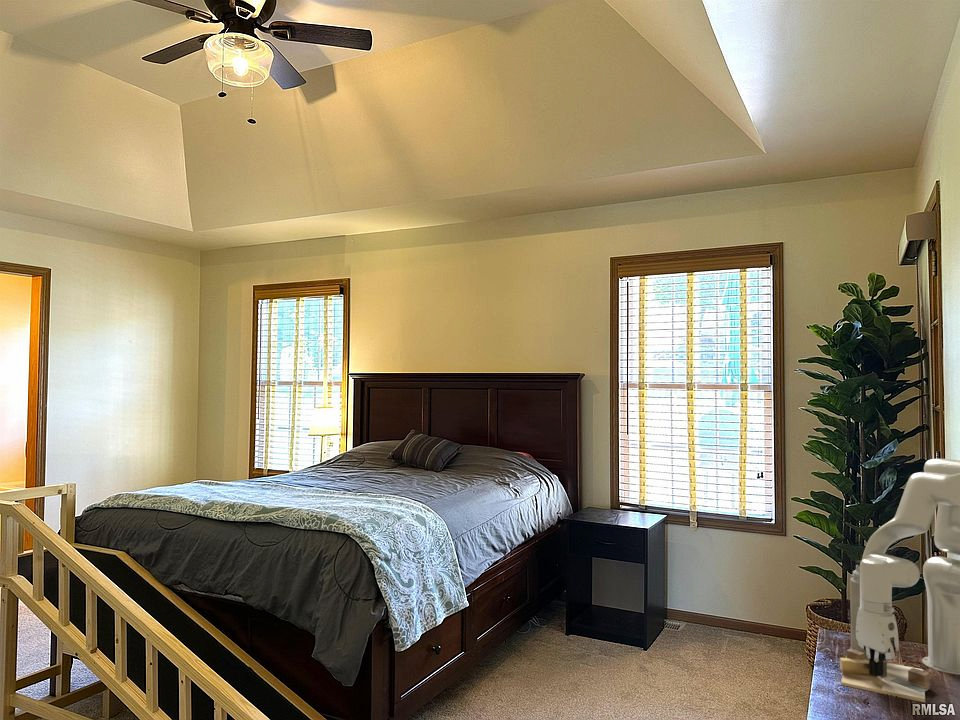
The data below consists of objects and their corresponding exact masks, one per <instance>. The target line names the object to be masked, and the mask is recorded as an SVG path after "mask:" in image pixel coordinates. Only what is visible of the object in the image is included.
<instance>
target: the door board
mask: <svg viewBox="0 0 960 720" xmlns="http://www.w3.org/2000/svg"><path fill="white" fill-rule="evenodd" d="M845 658H850V659H856V660H867V659H865V653H863V652H860V651H857V650H854V649H851V648H848V649H846V655H845ZM868 661H869V660H868ZM840 681H841V682H840V686H845V687H850V688H853V689H859V690H863V691H867V692H868V691H869V692H872V693H877V694H882V695H883V694H884V695H887V694H888V695H887V696H891V695H892V696H891V697H896V696H897V697H896V698H901V699H907V700H912V701H916V702H921V703H926V694H925V693H926V692H927V691H928V690H930V685H931V684H930V681H931V680H930V672H928V671H925V670H924V669H923V668H917V667H912V666H906V665H902V664H895V663H890V662H887V661H886V660H885V661H883V675H882V676H873V675H871V674H862V673H850V672H842V675H841V680H840Z"/></svg>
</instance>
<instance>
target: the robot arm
mask: <svg viewBox="0 0 960 720" xmlns="http://www.w3.org/2000/svg"><path fill="white" fill-rule="evenodd" d="M936 510H937V513H936V518H935V519H936V521H935V525H934V526H935V528H934V535H933V541H934V542H933V543H934V545H935V547H936V548H937V549H939V550H940V551H942V552H945V553H948V554H952V555H956V556H960V460H958V459H953V458H952V459H950V458H931V459H928V460H927V461H925V463H924V466H923V471H920V472H915V473H912V474H911V475H910V476H909V477H908V480H907V483H906V486H905V488H904V490H903V493H902V496H901V498H900V502H899V505H898V507H897V510H896V512H895V515H894V517H893V518H892V519H890V520H889V521H888V522H886V523H884V524H883V525H881V526H879V528H877V530H876V531H874V532H873V533H872V535H871V536H870V537H869V539H868V540H867V543H866V545H865V548H864V550H863V554H862V558H861V560H862V561H861V562H860V607H859V609H858V614H857V621H856V639H857V641H858V645H859V646H860V647H862V648H863V649H864V650H865V652H866V654H867V658H868V659H869V674H871V675H873V676H882V675H883V661H886V660H895V659H896V655H895V653H898V652H899V650H900V649H899V648H900V643H899V642H900V641H899V630H898V625H897V618H896V616H895V614H894V612H895V608H894V607H893V602H892V600H893V595H892V594H893V591H892V590H893V588H911V587H914V585H916V584H917V583H918V581H919V580H920V577H921V572H920V569H919V567H918V566H917V564H916V563H914V562H913V561H911V560H910V559H909V560H908V559H905V558H901V557H897V556H895V555H890V554H886V552H887V550H888V549H889V547H890V546H891V545H892V544H894V543H895V542H897V541H898V540H899V541H900V540H902V539H904V538H908V537H912V536H917V535H921V534H925V533H926V532H928V531H929V530H930V526H931V524H932V520H933V517H934V515H935V511H936ZM922 575H923V580H924V585H925V589H926V599H927V653H928V655H927V656H925V657H923V658H921V661H922V664H924V665H925V666H927V667H928V668H930V669H932V670H935V671H939V672H941V673H944V674H945V673H946V674H951V675H957V676H958V675H960V560H959V559H955V558H951V557H950V558H949V557H945V556H932V557H930V558H928V559H926V561H925V562H924V564H923V566H922Z"/></svg>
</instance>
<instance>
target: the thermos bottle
mask: <svg viewBox="0 0 960 720" xmlns="http://www.w3.org/2000/svg"><path fill="white" fill-rule="evenodd" d="M861 561H862V559H858V560H855V564H856V565H855V570H853V571H852V577H850V578H849V588H850V590H849V591H850V593H849V598H850V602H849V604H850V606H849V607H850V608H849V609H850V649H854V650H857V651H860V652H863V653H865V659H867V660H869V659H868V658H867V654H866V652H865V650H864V649H863V648H862V647H860V646H859V645H858V641H857V639H856V621H857V614H858V609H859V607H860V562H861Z"/></svg>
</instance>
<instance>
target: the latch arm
mask: <svg viewBox="0 0 960 720" xmlns="http://www.w3.org/2000/svg"><path fill="white" fill-rule="evenodd" d="M839 670H840V671H841V672H842V673H843V672H850V673H862V674H869V661H868V660H856V659H850V658H846V657H839Z"/></svg>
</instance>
